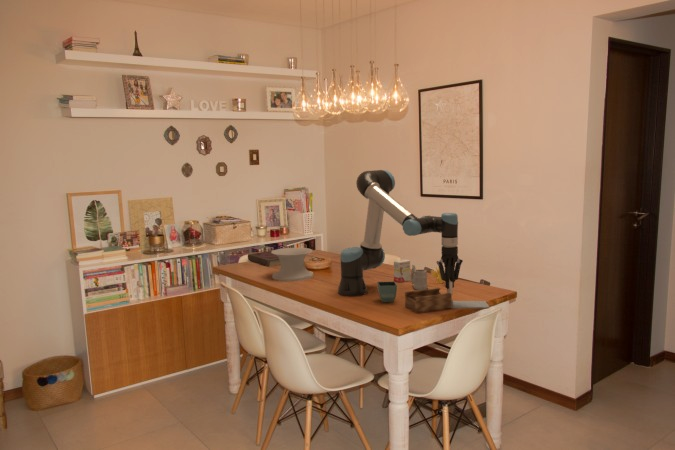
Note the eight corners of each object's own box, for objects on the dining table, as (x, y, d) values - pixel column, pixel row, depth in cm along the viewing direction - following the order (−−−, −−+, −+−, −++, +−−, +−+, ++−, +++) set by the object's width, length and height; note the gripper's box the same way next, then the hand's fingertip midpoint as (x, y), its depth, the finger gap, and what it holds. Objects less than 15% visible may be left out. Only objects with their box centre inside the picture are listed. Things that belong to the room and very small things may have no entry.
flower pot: (394, 298, 271) (394, 281, 270) (397, 303, 262) (397, 285, 261) (377, 299, 271) (377, 281, 270) (379, 304, 262) (379, 286, 261)
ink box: (398, 282, 304) (398, 262, 302) (393, 281, 308) (393, 260, 307) (410, 280, 308) (410, 260, 307) (405, 279, 312) (405, 259, 311)
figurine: (452, 286, 293) (452, 270, 292) (430, 284, 298) (430, 268, 297) (457, 281, 304) (457, 266, 303) (436, 279, 309) (436, 264, 308)
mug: (419, 291, 285) (419, 268, 283) (405, 286, 295) (405, 265, 293) (430, 288, 289) (430, 266, 287) (416, 284, 299) (416, 263, 297)
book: (296, 262, 370) (296, 255, 370) (267, 267, 358) (267, 260, 357) (275, 256, 395) (275, 250, 394) (247, 260, 383) (247, 254, 382)
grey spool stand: (265, 280, 319) (264, 254, 317) (281, 271, 343) (281, 247, 341) (304, 282, 312) (303, 255, 309) (319, 272, 335) (318, 248, 333)
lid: (450, 309, 252) (450, 302, 252) (448, 303, 262) (448, 296, 262) (489, 309, 250) (489, 302, 250) (485, 303, 260) (485, 297, 260)
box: (416, 313, 245) (416, 297, 244) (405, 306, 257) (405, 291, 256) (451, 308, 251) (451, 293, 250) (438, 302, 262) (438, 287, 261)
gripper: (441, 248, 248) (441, 298, 251) (466, 246, 252) (465, 295, 255) (433, 245, 255) (433, 294, 258) (457, 243, 259) (457, 291, 262)
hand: (449, 294), depth 256 cm, fingers closed
